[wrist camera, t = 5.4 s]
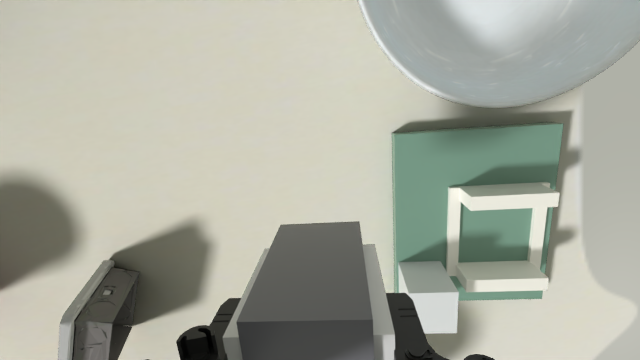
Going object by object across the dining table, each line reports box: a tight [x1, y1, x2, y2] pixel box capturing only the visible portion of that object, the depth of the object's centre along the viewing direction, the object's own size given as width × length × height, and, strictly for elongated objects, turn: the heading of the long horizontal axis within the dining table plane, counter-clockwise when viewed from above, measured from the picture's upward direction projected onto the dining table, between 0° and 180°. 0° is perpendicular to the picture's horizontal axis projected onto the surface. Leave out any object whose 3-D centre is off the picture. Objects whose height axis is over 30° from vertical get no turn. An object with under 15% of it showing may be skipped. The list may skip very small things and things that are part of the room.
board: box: [392, 122, 563, 301], centre depth 29 cm, size 17×14×4 cm
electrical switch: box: [58, 260, 139, 360], centre depth 32 cm, size 9×5×9 cm, turn 164°
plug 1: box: [236, 222, 374, 360], centre depth 15 cm, size 5×4×8 cm
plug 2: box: [398, 261, 459, 334], centre depth 29 cm, size 4×4×5 cm
